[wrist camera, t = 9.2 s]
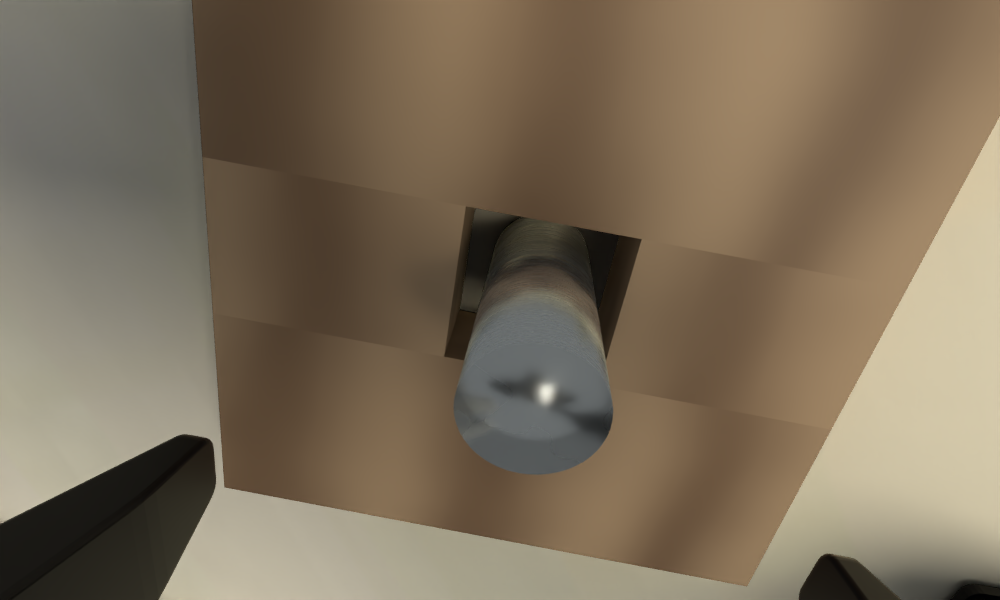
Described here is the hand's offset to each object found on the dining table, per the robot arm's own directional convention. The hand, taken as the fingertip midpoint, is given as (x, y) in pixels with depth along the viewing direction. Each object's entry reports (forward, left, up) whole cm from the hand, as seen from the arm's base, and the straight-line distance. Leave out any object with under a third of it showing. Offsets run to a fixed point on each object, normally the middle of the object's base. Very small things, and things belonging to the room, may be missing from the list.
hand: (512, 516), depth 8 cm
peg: (0, 0, -11) cm, 11 cm away
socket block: (0, 0, -11) cm, 11 cm away
